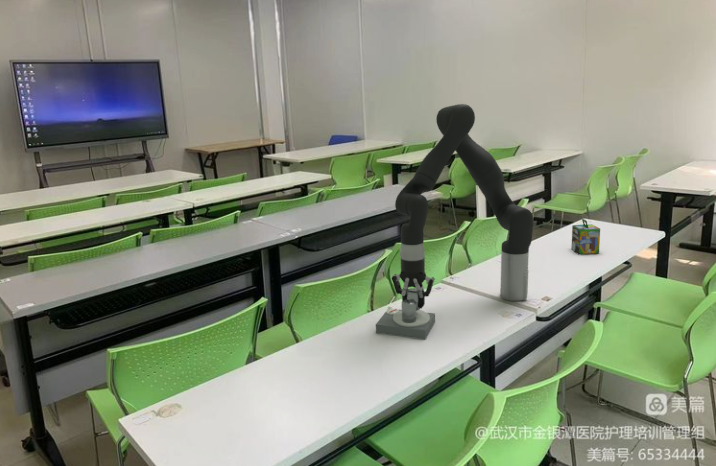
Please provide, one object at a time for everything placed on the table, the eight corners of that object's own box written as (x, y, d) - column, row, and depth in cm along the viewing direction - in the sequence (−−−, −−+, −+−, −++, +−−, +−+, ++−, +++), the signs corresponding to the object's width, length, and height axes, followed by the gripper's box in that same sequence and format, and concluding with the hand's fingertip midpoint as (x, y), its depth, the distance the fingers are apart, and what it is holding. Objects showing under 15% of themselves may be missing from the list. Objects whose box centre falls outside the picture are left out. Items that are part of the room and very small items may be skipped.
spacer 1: (420, 305, 172) (420, 288, 171) (419, 311, 168) (419, 293, 166) (407, 305, 173) (407, 288, 171) (406, 310, 169) (405, 292, 167)
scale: (435, 321, 173) (435, 310, 172) (425, 339, 161) (425, 327, 160) (388, 316, 179) (388, 305, 178) (376, 333, 167) (375, 321, 166)
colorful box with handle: (599, 254, 233) (601, 221, 229) (578, 255, 233) (580, 222, 229) (590, 248, 242) (592, 216, 238) (570, 248, 242) (572, 217, 238)
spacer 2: (417, 318, 167) (417, 300, 165) (414, 323, 163) (413, 305, 162) (404, 316, 169) (403, 298, 167) (400, 322, 165) (399, 304, 163)
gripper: (437, 254, 167) (437, 304, 171) (394, 251, 172) (395, 300, 176) (432, 261, 160) (432, 313, 164) (387, 258, 165) (388, 308, 170)
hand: (413, 306), depth 170 cm, fingers closed on spacer 1, 4 cm apart
